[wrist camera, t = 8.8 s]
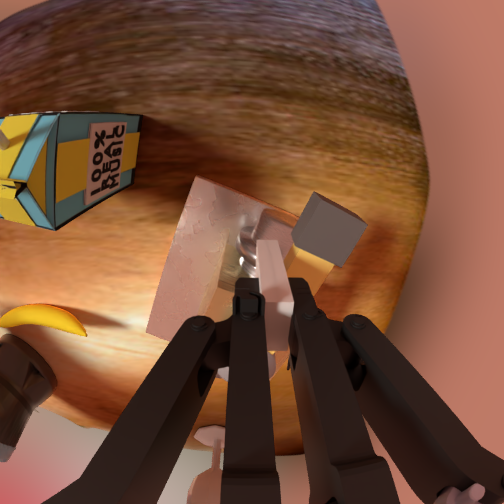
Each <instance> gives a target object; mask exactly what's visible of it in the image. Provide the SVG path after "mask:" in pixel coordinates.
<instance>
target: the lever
mask: <svg viewBox="0 0 504 504" xmlns="http://www.w3.org/2000/svg"><path fill="white" fill-rule="evenodd" d="M367 226H368V225H367V224H366V223H365V222H364V221H363V220H362V219H361V218H360V217H359V216H358V215H357V214H355V213H353V212H352V211H350V210H348V209H346V208H344V207H343V206H341V205H339V204H337V203H335V202H333V201H331V200H330V199H328V198H326V197H324V196H322V195H320V194H318V193H316V192H313V194H312V195H311V197H310V199H309V201H308V203H307V205H306V207H305V208H304V210H303V212H302V214H301V216H300V218H299V219H298V221H297V223H296V225H295V227H294V228H293V230H292V232H291V236H292V239H293V242H294V243H293V245H292V247H291V248H290V250H289V252H288V254H287V255H286V257H285V259H284V261H283V262H284V266H285V270H286V273H287V277H302V278H303V279H304V280H306V281H307V282H308V284H309V287H310V290H311V292H312V295H313V297H314V296H315V294H316V293H317V291H318V290H319V288H320V287H321V285H322V284H323V282H324V280H325V279H326V277H327V276H328V274H329V273H330V271H331V270H332V268H333V266H334V265H336V266H339V267H341V268H342V266H343V265H344V263H345V261H346V260H347V258H348V257H349V255H350V254H351V252H352V250H353V249H354V247H355V245H356V244H357V242H358V241H359V239H360V237H361V236H362V234H363V232H364V231H365V229H366V227H367ZM267 354H268V367H269V379H270V378H271V377H272V376H273V375H274V373H275V371H276V360H275V351H267ZM218 373H219V375H220V376H221V377H222V378H223V379H224V380H226V381H228V374H229V367H225V368H220V369H218Z"/></svg>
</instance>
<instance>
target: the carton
mask: <svg viewBox="0 0 504 504" xmlns="http://www.w3.org/2000/svg"><path fill="white" fill-rule="evenodd" d="M142 118H143V115H139V114H124V113H108V112H99V111H58V112H36V113H23V114H13V115H9V116H6V117H0V218H2V219H6V220H10V221H14V222H18V223H23V224H27V225H31V226H36V227H40V228H44V229H49V230H53V231H57V230H59V229H60V228H61V227H63V226H64V225H66V224H68V223H69V222H71V221H72V220H74V219H75V218H77V217H78V216H80V215H81V214H83V213H85V212H86V211H88V210H89V209H91V208H93V207H94V206H96V205H98V204H99V203H101V202H103V201H104V200H106V199H108V198H110V197H111V196H113V195H115V194H116V193H118V192H120V191H122V190H124V189H125V188H127V187H129V186H131V185H133V184H134V176H135V167H136V158H137V151H138V143H139V137H140V130H141V124H142Z"/></svg>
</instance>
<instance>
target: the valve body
mask: <svg viewBox="0 0 504 504" xmlns="http://www.w3.org/2000/svg"><path fill="white" fill-rule="evenodd" d="M299 218H300V217H298V216H295V215H293V214H291V213H289V212H286V211H284V210H282V209H280V208H277V207H275V206H273V205H270V204H268V203H266V202H263V201H261V200H259V199H256V198H254V197H251V196H249V195H247V194H244V193H242V192H239V191H237V190H235V189H232V188H230V187H227V186H225V185H222V184H220V183H217V182H215V181H212V180H210V179H207V178H205V177H202V176H199V175H197V176H196V177H195V179H194V182H193V185H192V187H191V190H190V193H189V195H188V198H187V201H186V203H185V206H184V209H183V212H182V215H181V217H180V220H179V223H178V226H177V229H176V232H175V235H174V238H173V241H172V244H171V247H170V250H169V253H168V256H167V260H166V263H165V266H164V269H163V272H162V276H161V279H160V282H159V286H158V289H157V293H156V296H155V300H154V303H153V307H152V310H151V314H150V318H149V322H148V325H147V329H146V333H149V334H151V335H154V336H156V337H159V338H162V339H164V340H167V341H171V340H172V339H173V337H174V336H175V334H176V333H177V331H178V330H179V328H180V327H181V325H182V324H183V323H184V321H185V320H187V319H188V318H190V317H192V316H197V315H201V316H207V317H210V318H211V319H213V320H214V322H220V321H224V320H226V319H228V318H229V317H230V316H231V315H232V314H233V313H232V298H233V296H234V293H235V282H236V281H237V280H238V278H239V277H247V278H255V272H256V248H257V240H278V244H279V247H280V251H281V255H282V258H283V261H284V259H285V257H286V255H287V254H288V252H289V250H290V248H291V247H292V245H293V243H294V242H293V239H292V236H291V232H292V230H293V228H294V227H295V225H296V223H297V221H298V219H299ZM289 354H290V349H289V344H288V349H287V351H275V360H276V371H275V373H274V375H275V374H276V372H277V371H278V370H279V369H280V367H281V366H282V365H283V363H284V362H285V361H286V359H287V358H288V356H289ZM274 375H273V376H274ZM273 376H272V377H271V378H270V379H269V381H270V380H271V379H272V378H273ZM216 378H222V377H221V376H220V375H219V373H217V375H216Z"/></svg>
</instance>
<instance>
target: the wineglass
mask: <svg viewBox="0 0 504 504" xmlns="http://www.w3.org/2000/svg"><path fill="white" fill-rule="evenodd" d="M194 438H195V439H197V440H198V441H200V442H201V443H203V444H204V445H208V446H212V447H213V457H212V467H211V468H210V469H208V470H206V471H205V472H203V473H201V474H199V475H198V476H196V477H195V478H194V480H193V482H192V484H191V486H190V488H189V491H188V496H187V504H220V492H221V476H222V470H221V469H220V468H219V465H220V453H221V448H224V442H225V427H221V426H217V425H211V426H207V427H202V428H199V429H198V430H197V432H196V433H195V435H194Z"/></svg>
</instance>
